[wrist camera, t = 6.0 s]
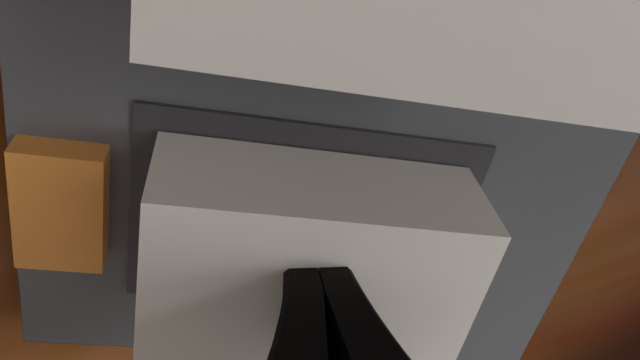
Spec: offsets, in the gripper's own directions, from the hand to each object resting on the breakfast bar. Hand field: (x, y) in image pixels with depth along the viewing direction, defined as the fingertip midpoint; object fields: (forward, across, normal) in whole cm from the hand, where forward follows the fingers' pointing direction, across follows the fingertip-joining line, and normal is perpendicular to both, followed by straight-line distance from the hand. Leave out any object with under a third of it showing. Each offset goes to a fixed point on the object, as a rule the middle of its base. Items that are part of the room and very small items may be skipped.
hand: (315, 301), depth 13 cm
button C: (+3, 0, 0) cm, 3 cm away
